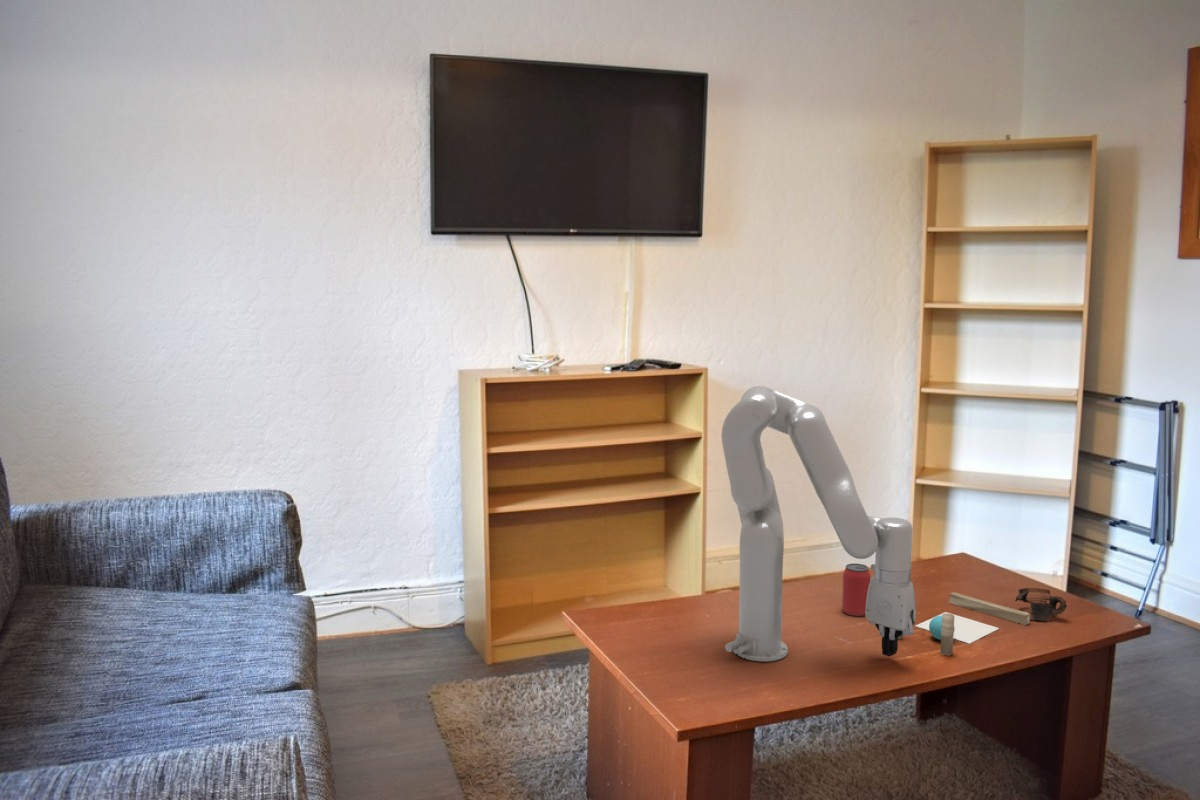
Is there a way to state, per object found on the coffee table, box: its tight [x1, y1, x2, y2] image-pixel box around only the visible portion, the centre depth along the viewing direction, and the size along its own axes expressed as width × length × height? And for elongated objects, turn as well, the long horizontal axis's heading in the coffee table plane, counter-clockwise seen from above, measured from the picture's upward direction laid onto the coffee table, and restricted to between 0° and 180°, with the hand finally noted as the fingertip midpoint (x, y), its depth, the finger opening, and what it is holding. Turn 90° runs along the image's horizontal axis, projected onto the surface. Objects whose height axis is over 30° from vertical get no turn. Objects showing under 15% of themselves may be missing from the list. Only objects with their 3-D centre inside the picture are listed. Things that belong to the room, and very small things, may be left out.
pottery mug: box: [1014, 587, 1068, 622], centre depth 230 cm, size 12×10×8 cm
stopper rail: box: [948, 591, 1030, 626], centre depth 232 cm, size 2×20×2 cm, turn 40°
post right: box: [939, 612, 955, 657], centre depth 207 cm, size 3×3×9 cm
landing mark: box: [914, 611, 1000, 645], centre depth 223 cm, size 14×14×1 cm
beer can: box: [841, 562, 871, 617], centre depth 233 cm, size 7×7×12 cm
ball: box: [929, 615, 955, 641], centre depth 216 cm, size 6×6×6 cm
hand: (889, 653), depth 204 cm, fingers closed
